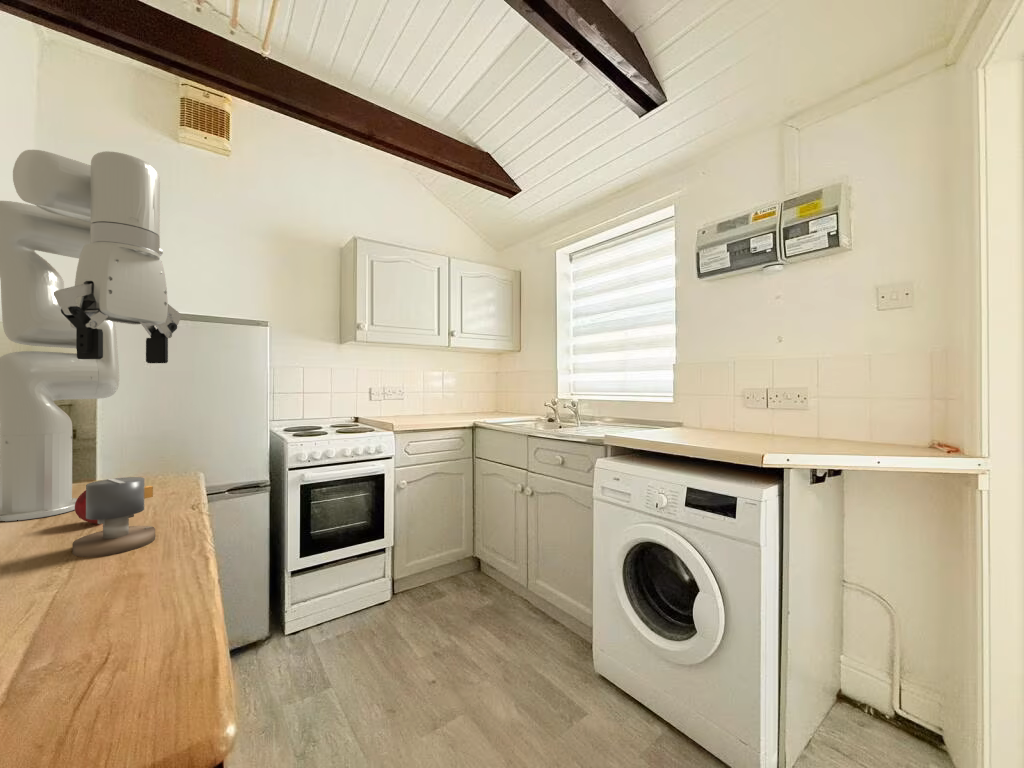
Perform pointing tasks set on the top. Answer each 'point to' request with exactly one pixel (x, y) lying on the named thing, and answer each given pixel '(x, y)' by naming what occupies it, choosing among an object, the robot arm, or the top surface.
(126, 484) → the grey striped cylinder
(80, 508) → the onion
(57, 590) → the top surface
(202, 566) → the top surface
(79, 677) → the top surface
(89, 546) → the post base
